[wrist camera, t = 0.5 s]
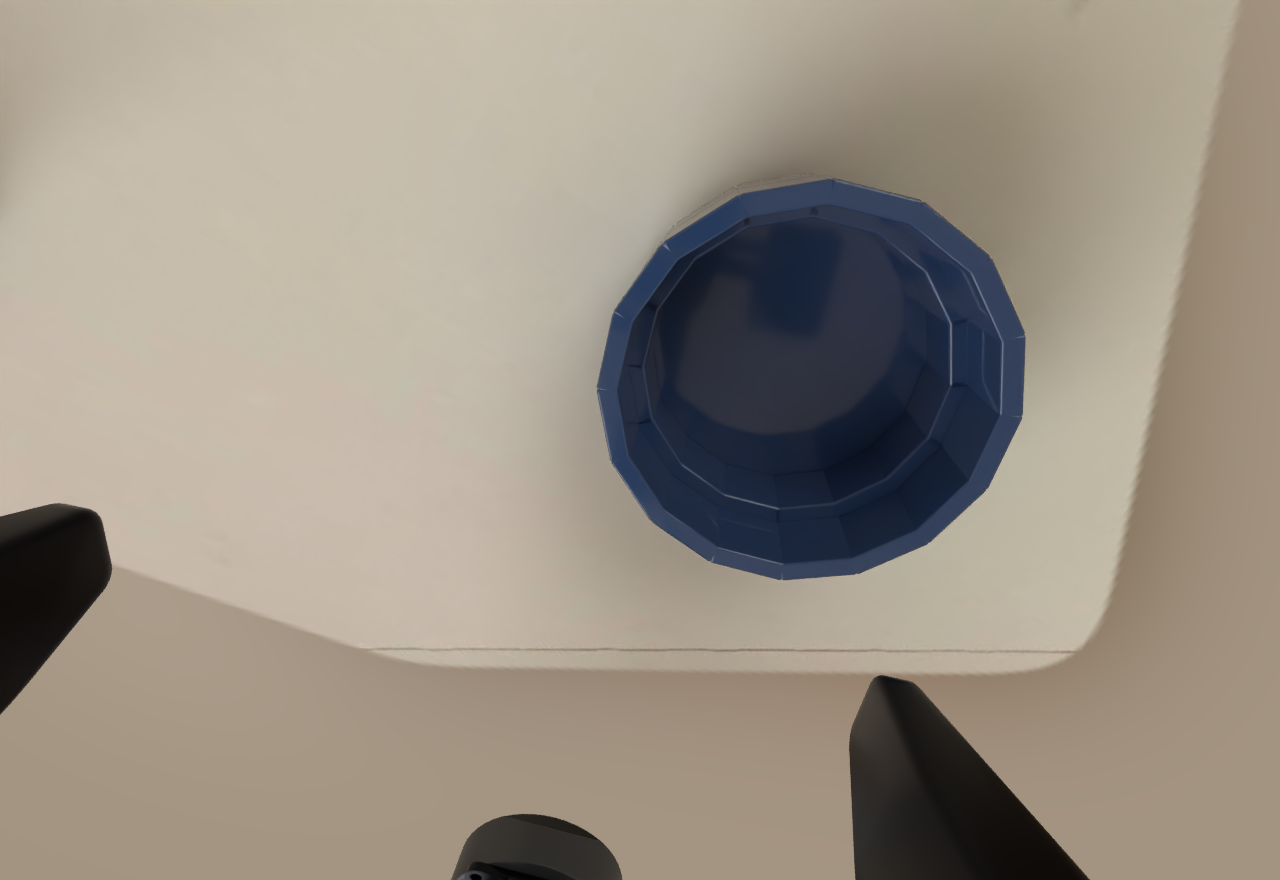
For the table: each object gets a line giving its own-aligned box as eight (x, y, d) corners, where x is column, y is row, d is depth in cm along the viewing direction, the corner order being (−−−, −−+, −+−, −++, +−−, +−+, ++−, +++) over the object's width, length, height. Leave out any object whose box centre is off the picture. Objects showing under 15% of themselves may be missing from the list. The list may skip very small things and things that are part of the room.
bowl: (882, 522, 22) (925, 618, 18) (597, 449, 22) (566, 526, 18) (1010, 224, 18) (1106, 247, 14) (668, 137, 19) (651, 132, 14)
